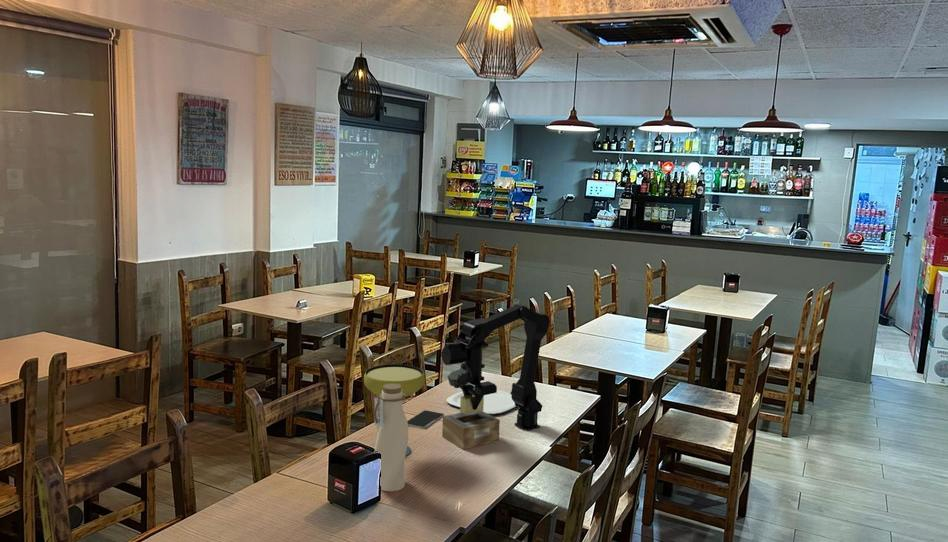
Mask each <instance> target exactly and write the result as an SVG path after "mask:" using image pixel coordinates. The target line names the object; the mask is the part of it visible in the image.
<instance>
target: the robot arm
mask: <svg viewBox="0 0 948 542" xmlns="http://www.w3.org/2000/svg"><path fill="white" fill-rule="evenodd" d="M518 320H521V321H523V322H524V327H523V328H524V332H525V336H526V339H525V340H526V341H525V345H524V346H525V347H524V352H523V358H522V364H521V369H520V374H519V379H518V380H517V381H516V382H513V383H512V384H511V391H510V392H509V393H510V394H511V395H512V396H511V398H512V400H513V401H514V403H515V406H516V407H515V408H518V409H517V414H516V422H515V423H514V426H516V427H518V428H520V429H522V430H524V431H530V430H535V429H539V428H540V427H541V425H540V424H538V418H539V417H538V416H539V415H538V413H540V412H542V409H543V404H542V403H541V402H540V401H539V399H537V396H538V395H537V392H538V391H537V387H536V383H535V379H536V371H537V365H538V360H539V355H540V350H541V344H542V340H543V339H544V337H545V336H546V335H547V333H548V331H549V328H550V318H549V315H547V314H544V313H541V312H537V311H534V310H533V309H532V310H531V308H528V307H527V306H526V305H523V304H519V303H516V304H513V305H512V306H510V307H508V308H507V309H503V310H501V311H499V312H497V313H495V314H492V315H489V316H487V317H485V318H477V319H476V318H475V319H470V320H467V321H465V322H464V323H463V326H462V329H461V330H460V332H459V333H458V334H457V337H456V338H455V340H454V342H445V344H444V345H445V346H444V347H443V348H442V350H441V351H440V352H441V355H440V356H441V360H442V362H443V364H444V365H445V366H450V365H458V364H460V368H459V369H456V370H455V371H451V372H450V374H448V375H447V379H448V383H449V386H451V387H453V388H455V389H460V390H461V392H462V391H463V394H464V396H467V395H472V403H473V410H476V409H477V407H478V405H479V403H480V402H481V400H482V398H483V396H484V395H488V394H493V393H496V392H497V390H498V387H497V385H496V384H495V383H493V382H492V381H489V380H488V381H487V380H486V381H485V376H483V375H482V374H483V372H482V371H483V369H485V367H486V364H485V363H483V348H487V347H489V343H488V342H486V341H485V339H487V338H489V336H490V335H491V333H492V332H495V330H498V329H500V328H502V327H505V326H508V325H509V324H511V323H513V322H515V321H518Z"/></svg>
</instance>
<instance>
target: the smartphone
mask: <svg viewBox="0 0 948 542" xmlns="http://www.w3.org/2000/svg"><path fill="white" fill-rule="evenodd" d="M444 414H445V413H442V412H436V411H431V410H427V409H426V410H423V411H421V412H419V413H418V414H416V415H415V416H413V417H411V418H410V419H407V423H408V427H412V428H417V429H421V430H425V429H427V428H429V427H430V426H432V424H434V423H435V422H437V421H438V420H440V419H441V418H443V416H445V415H444Z"/></svg>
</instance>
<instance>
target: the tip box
mask: <svg viewBox="0 0 948 542" xmlns="http://www.w3.org/2000/svg"><path fill="white" fill-rule="evenodd" d="M500 421H501V420H500V419H498V418H497V417H495V416H493V415H492V414H487V413H485V412H483V411H480V412H475V413H471V414H466V415H465V414H463V413H462V412H460V411H459V412H457V413H452V414H446V415H444V416H443V417H442V428H441V429H442V430H441V431H442V432H441V434H442V436H441V438H443V439H445V440H447V441H448V442H450V443H451V444H453V445H455V446H456V447H458V448H459V449H461V450H468V449H471V448H475V447H480V446H482V445H483V446H484V445H487V444H492V443H494V442H495V441H496V442H499V441H500V424H501V423H500ZM491 442H492V443H491ZM496 442H495V443H496Z"/></svg>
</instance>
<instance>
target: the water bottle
mask: <svg viewBox="0 0 948 542" xmlns="http://www.w3.org/2000/svg"><path fill="white" fill-rule="evenodd" d="M403 396H404V397H403ZM405 399H406V395H405V394H404V393H402V390H401V385H399V384H385V385H383V390H382V394H380V396H379V395H378V398H377V397H374V414H373V415H374V425H375V426H376V430H377V437H376V441H375V444H374V445H375V446H374V452H375V451H378V452H379V453H380V454H381V477H380V486H381V490H380V491H385V492H397V491H401V490H402V489H404V488H405V486H406V478H405V477H406V476H405V475H406V474H405V458H406V456H405V454H406V449H407V446H408V442H409V426H408V423H407V421H408V419H407V416H406V415H405V411H404V409H403V407H404V406H403V403H404V402H403V401H404V400H405Z"/></svg>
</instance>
